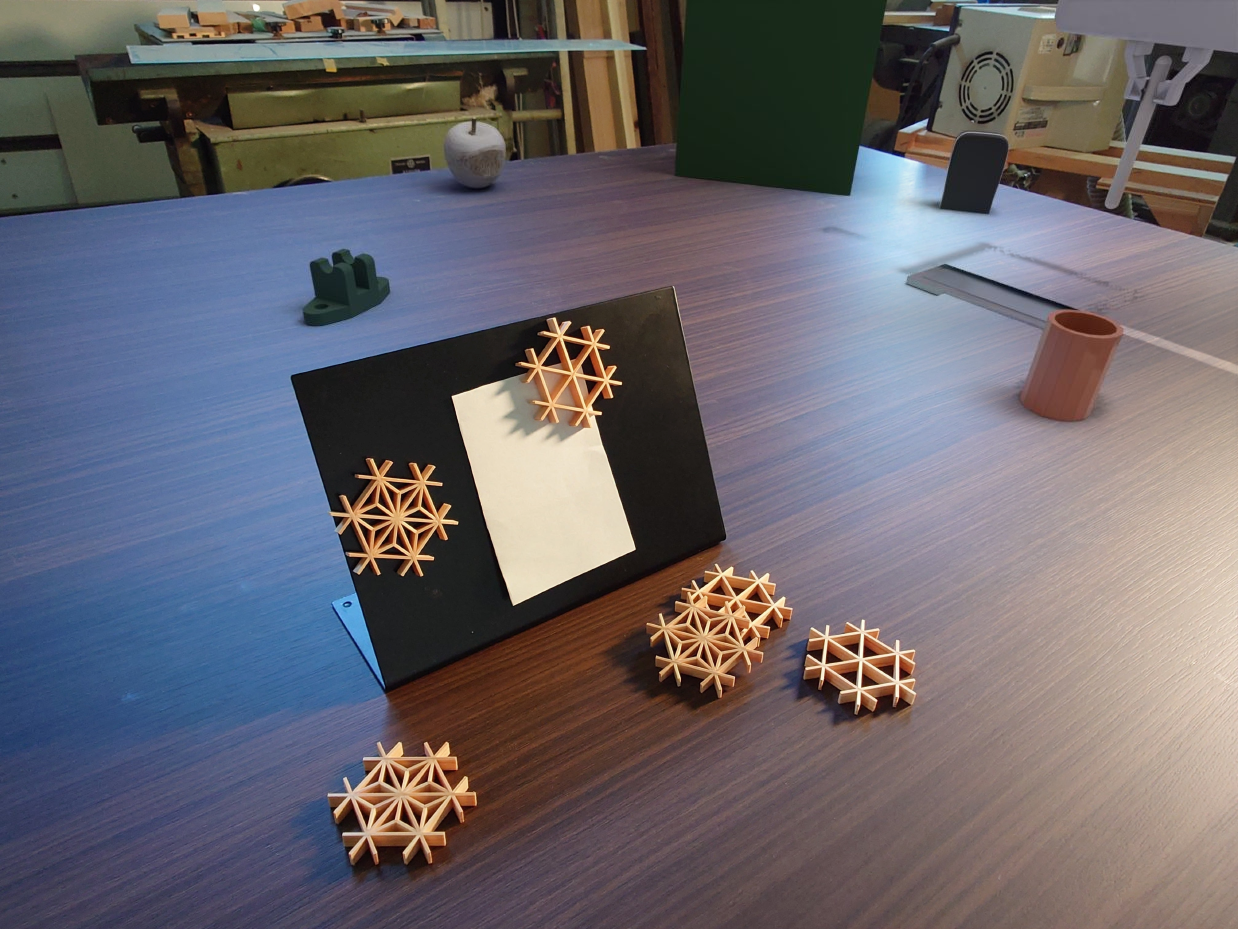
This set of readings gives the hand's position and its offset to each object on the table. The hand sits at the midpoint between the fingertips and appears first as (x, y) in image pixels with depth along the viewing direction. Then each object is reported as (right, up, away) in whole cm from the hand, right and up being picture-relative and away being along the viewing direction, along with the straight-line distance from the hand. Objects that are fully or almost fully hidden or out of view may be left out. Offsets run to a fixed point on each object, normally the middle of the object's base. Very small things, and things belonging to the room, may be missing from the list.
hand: (1149, 101), depth 72 cm
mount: (-75, -16, +10) cm, 77 cm away
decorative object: (-68, +8, +46) cm, 83 cm away
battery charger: (+1, +2, +41) cm, 41 cm away
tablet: (-3, -13, +18) cm, 23 cm away
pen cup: (-11, -28, -4) cm, 30 cm away
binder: (-24, +14, +58) cm, 64 cm away
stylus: (0, -8, +5) cm, 10 cm away
